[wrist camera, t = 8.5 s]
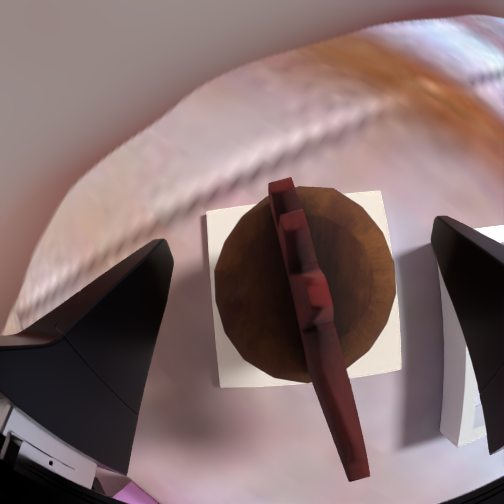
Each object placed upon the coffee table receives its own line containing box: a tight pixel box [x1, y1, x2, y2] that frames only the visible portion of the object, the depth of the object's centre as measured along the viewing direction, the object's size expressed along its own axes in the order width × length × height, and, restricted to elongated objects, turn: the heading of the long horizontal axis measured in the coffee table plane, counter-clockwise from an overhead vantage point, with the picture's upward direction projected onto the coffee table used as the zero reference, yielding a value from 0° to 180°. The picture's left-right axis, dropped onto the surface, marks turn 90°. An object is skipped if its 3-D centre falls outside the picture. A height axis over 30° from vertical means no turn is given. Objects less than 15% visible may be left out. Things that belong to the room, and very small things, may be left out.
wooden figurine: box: [214, 177, 396, 482], centre depth 9 cm, size 7×6×15 cm
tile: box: [206, 191, 401, 388], centre depth 17 cm, size 11×11×1 cm
